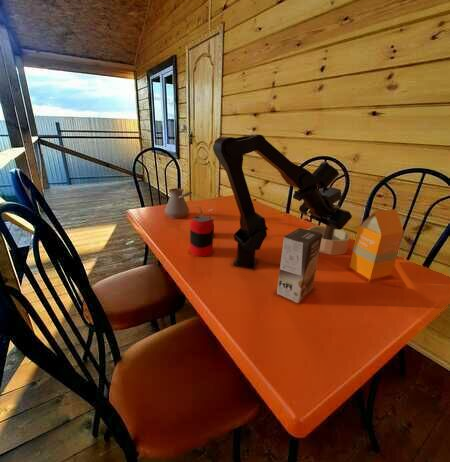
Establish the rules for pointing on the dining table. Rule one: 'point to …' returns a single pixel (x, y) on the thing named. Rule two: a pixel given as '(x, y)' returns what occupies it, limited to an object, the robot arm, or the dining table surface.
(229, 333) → the dining table surface
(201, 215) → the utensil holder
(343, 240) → the bowl
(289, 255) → the coffee box
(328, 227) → the brown rectangular block
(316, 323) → the dining table surface
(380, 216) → the orange juice
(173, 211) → the coffee pot
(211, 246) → the soda can
